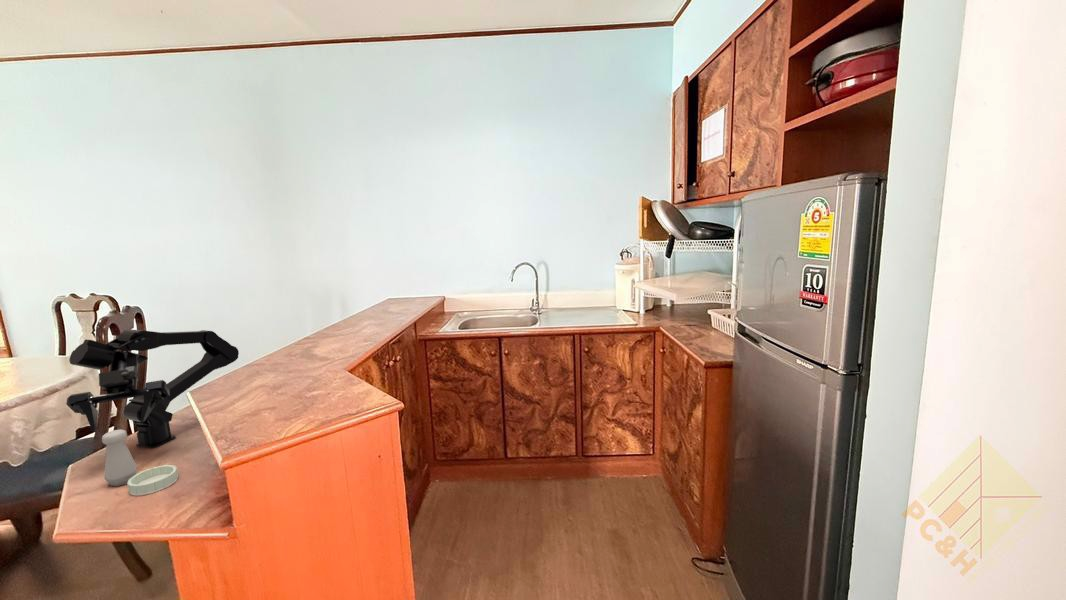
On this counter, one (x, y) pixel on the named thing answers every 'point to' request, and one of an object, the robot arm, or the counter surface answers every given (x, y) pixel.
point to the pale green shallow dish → (152, 480)
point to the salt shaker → (118, 458)
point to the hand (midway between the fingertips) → (118, 425)
